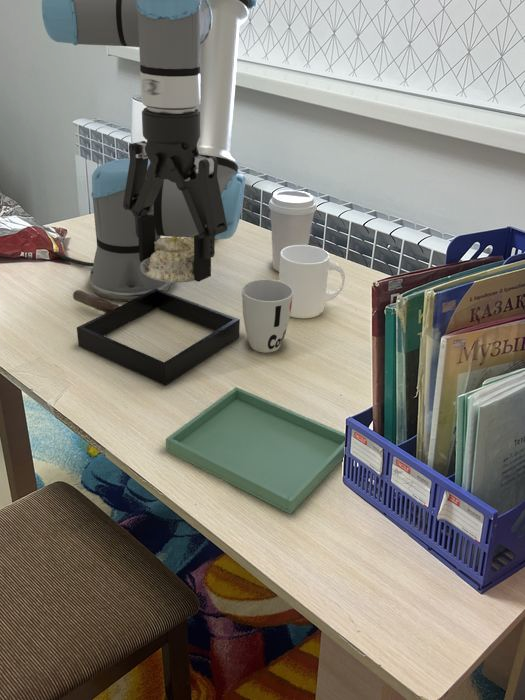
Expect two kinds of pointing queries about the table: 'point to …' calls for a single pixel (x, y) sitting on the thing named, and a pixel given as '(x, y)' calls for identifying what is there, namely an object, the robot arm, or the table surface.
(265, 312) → the cup
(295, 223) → the coffee cup
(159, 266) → the cake
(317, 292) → the mug
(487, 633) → the table surface
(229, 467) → the tray
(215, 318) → the pan
